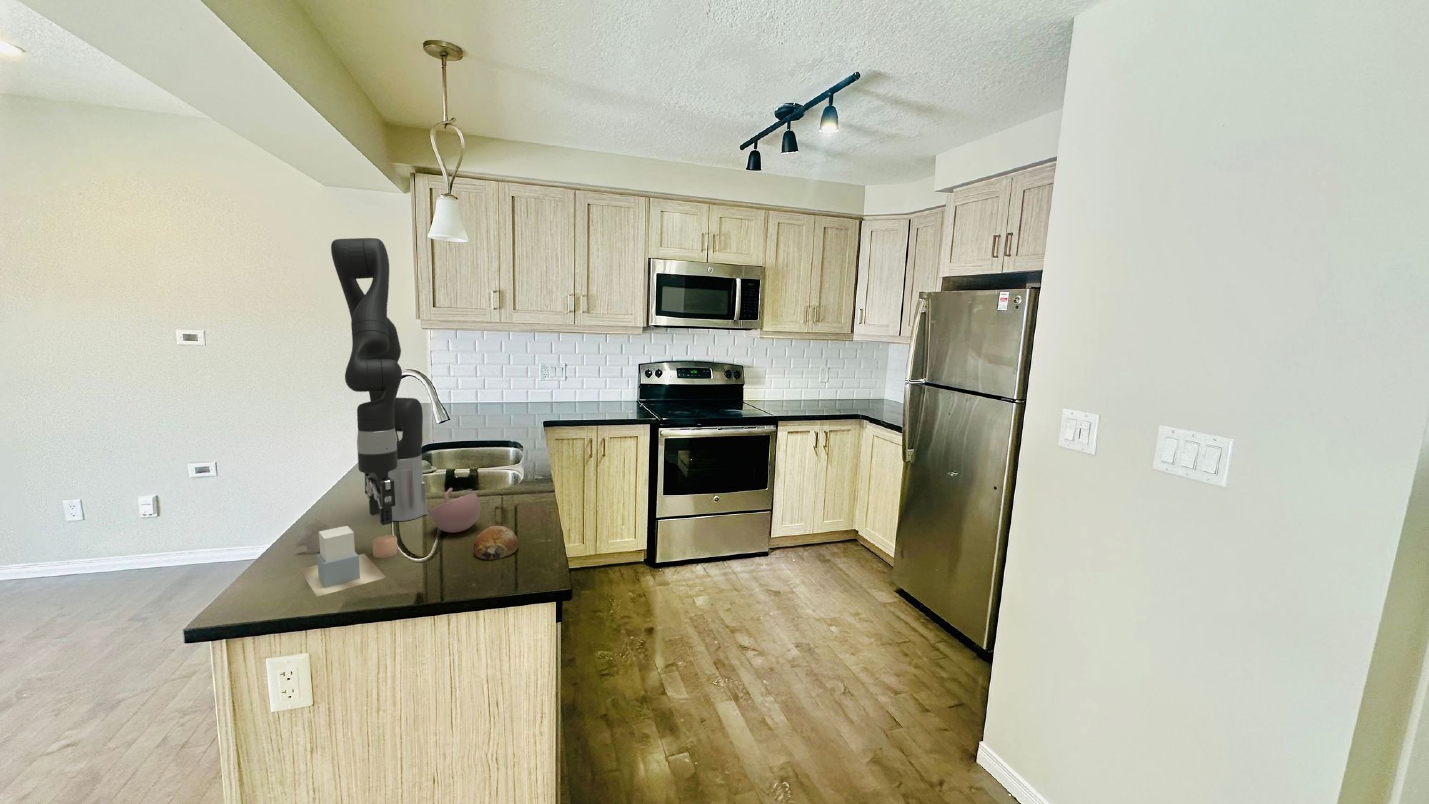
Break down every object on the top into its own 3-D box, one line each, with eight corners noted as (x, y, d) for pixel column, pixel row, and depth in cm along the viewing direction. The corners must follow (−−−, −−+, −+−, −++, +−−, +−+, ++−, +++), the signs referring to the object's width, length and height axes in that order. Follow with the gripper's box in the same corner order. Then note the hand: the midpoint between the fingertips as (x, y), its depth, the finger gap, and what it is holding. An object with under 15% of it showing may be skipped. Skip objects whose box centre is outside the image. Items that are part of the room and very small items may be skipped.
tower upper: (348, 548, 118) (347, 525, 117) (355, 555, 114) (353, 532, 114) (320, 554, 114) (318, 531, 114) (326, 562, 111) (324, 538, 110)
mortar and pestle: (459, 519, 153) (458, 479, 152) (491, 528, 148) (490, 486, 147) (420, 534, 143) (418, 491, 141) (452, 543, 138) (450, 499, 136)
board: (364, 559, 127) (364, 553, 127) (386, 584, 116) (386, 577, 116) (300, 575, 119) (299, 569, 118) (317, 603, 108) (316, 596, 107)
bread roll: (522, 564, 136) (530, 531, 138) (495, 562, 126) (504, 527, 129) (489, 557, 139) (497, 525, 141) (460, 555, 130) (470, 520, 132)
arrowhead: (295, 562, 124) (292, 520, 123) (297, 558, 127) (294, 516, 125) (338, 556, 128) (335, 515, 127) (339, 552, 130) (336, 511, 129)
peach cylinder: (394, 553, 131) (393, 533, 130) (400, 560, 128) (399, 539, 127) (370, 559, 127) (369, 538, 127) (377, 566, 124) (376, 545, 123)
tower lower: (352, 568, 119) (350, 546, 118) (360, 578, 115) (358, 555, 114) (318, 577, 115) (316, 554, 114) (325, 587, 111) (323, 564, 110)
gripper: (406, 452, 121) (409, 523, 123) (386, 441, 131) (389, 508, 133) (366, 457, 116) (370, 531, 118) (349, 445, 126) (353, 514, 128)
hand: (380, 519), depth 126 cm, fingers open, 8 cm apart
